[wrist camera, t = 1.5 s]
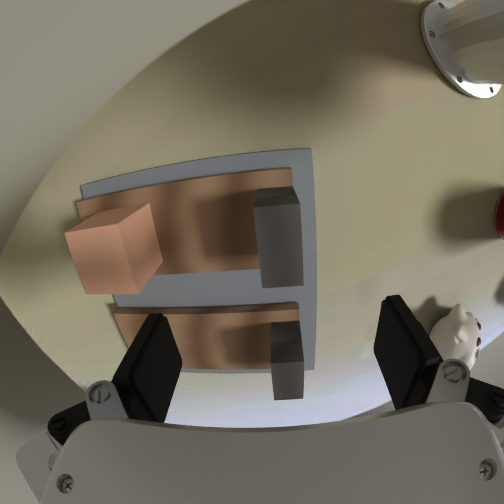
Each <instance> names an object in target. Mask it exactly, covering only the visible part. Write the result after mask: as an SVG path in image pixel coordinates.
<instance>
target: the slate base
mask: <svg viewBox="0 0 504 504" xmlns="http://www.w3.org/2000/svg"><path fill="white" fill-rule="evenodd" d="M284 167H291V169H292V181H293V187H294V190H295V192H296V195H297V197H298V200H299V202H300V209H301V226H302V247H303V274H304V286H291V287H277V288H262V282H261V273H260V269H248V270H234V271H218V272H202V273H186V274H168V275H152V277H151V278H150V279H149V281H148V282H147V283H146V285H145V286H144V287H143V289H142V290H141V292H140V293H139V294H113V295H114V298H115V301H116V303H117V306H118V308H206V307H233V306H253V305H270V304H285V303H299V319H300V329H301V337H302V346H303V355H304V370H314V364H315V342H316V307H317V253H316V217H315V196H314V179H313V164H312V151H311V148H303V149H287V150H274V151H263V152H253V153H244V154H235V155H227V156H220V157H213V158H206V159H199V160H193V161H187V162H181V163H176V164H170V165H165V166H160V167H155V168H150V169H145V170H140V171H136V172H131V173H127V174H123V175H119V176H115V177H111V178H107V179H103V180H99V181H95V182H91V183H88V184H85V185H82V186H81V188H82V193H83V197H84V199H87V198H91V197H95V196H99V195H104V194H108V193H113V192H117V191H122V190H127V189H132V188H137V187H142V186H147V185H152V184H158V183H163V182H169V181H175V180H182V179H188V178H195V177H201V176H209V175H216V174H224V173H232V172H241V171H250V170H260V169H271V168H284ZM180 372H192V373H271V369H245V370H215V369H185V368H181V371H180Z"/></svg>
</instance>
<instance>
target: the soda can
mask: <svg viewBox="0 0 504 504" xmlns="http://www.w3.org/2000/svg"><path fill="white" fill-rule="evenodd" d="M495 225H496V230H497V233H498V235H499V236H500V237H501V238H502V239H503V240H504V193H503V194H502V195H501V197H500V199H499V201H498V204H497V207H496V212H495Z"/></svg>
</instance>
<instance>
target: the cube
mask: <svg viewBox="0 0 504 504" xmlns="http://www.w3.org/2000/svg"><path fill="white" fill-rule="evenodd" d="M65 237H66V240H67V243H68V246H69V249H70V253H71V255H72V258H73V261H74V264H75V267H76V270H77V272H78V275H79V278H80V280H81V283H82V285H83V288H84V290H85V293H86V294H139V293H140V292H141V290H142V289H143V287H144V286H145V285H146V283H147V282H148V281H149V279H150V278H151V277H152V275H153V274H154V273H155V271H156V270H157V269H158V267H159V266H160V265H161V263H162V262H163V259H162V255H161V251H160V247H159V243H158V239H157V235H156V231H155V226H154V222H153V218H152V213H151V208H150V204H149V203H145V204H139V205H133V206H128V207H122V208H116V209H111V210H106V211H101V212H98V213H97V214H95V215H93V216H91V217H90V218H88V219H86V220H85V221H83V222H81V223H80V224H78V225H76V226H75V227H73V228H71V229H70V230H68V231H67V232H65Z"/></svg>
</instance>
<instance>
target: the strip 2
mask: <svg viewBox="0 0 504 504" xmlns="http://www.w3.org/2000/svg"><path fill="white" fill-rule="evenodd" d="M149 313H162V314H163V315H164V316H166V317H167V319H168V322H169V324H170V327H171V330H172V333H173V336H174V339H175V342H176V344H177V347H178V350H179V352H180V355H181V358H182V368H185V369H215V370H245V369H271V374H272V383H273V392H274V400H289V399H303V389H304V355H303V346H302V337H301V329H300V319H299V303H285V304H270V305H253V306H233V307H206V308H117V309H116V310H115V311H114V313H113V315H114V317H115V320H116V322H117V324H118V326H119V329H120V331H121V333H122V335H123V337H124V339H125V342H126V344H127V346H128V348H129V347H130V345H131V344H132V342H133V340H134V338H135V336H136V335H137V333H138V331H139V330H140V328H141V326H142V324H143V323H144V321H145V319H146V318H147V316H148V314H149Z"/></svg>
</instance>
